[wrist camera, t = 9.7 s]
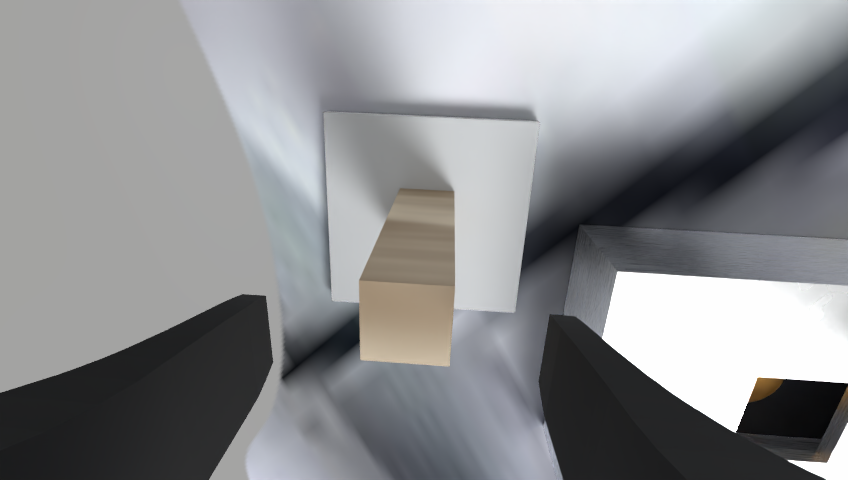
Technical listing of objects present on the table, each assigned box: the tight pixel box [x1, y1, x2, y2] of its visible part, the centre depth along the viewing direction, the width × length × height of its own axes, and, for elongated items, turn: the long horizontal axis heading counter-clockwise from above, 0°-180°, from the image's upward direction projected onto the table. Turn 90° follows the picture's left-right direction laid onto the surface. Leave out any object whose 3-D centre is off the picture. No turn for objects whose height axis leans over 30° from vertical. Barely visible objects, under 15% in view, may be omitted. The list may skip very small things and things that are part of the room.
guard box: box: [543, 224, 848, 480], centre depth 19 cm, size 12×16×5 cm
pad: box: [323, 111, 540, 313], centre depth 20 cm, size 9×9×1 cm
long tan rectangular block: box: [359, 188, 455, 366], centre depth 15 cm, size 2×2×9 cm
